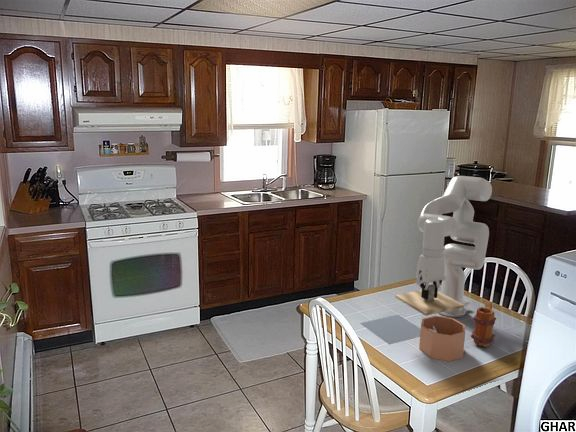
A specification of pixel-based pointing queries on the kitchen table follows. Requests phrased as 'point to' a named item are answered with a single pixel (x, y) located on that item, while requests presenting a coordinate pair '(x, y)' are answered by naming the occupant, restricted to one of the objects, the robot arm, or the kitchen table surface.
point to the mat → (393, 329)
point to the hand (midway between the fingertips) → (429, 297)
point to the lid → (429, 301)
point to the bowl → (442, 338)
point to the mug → (484, 325)
